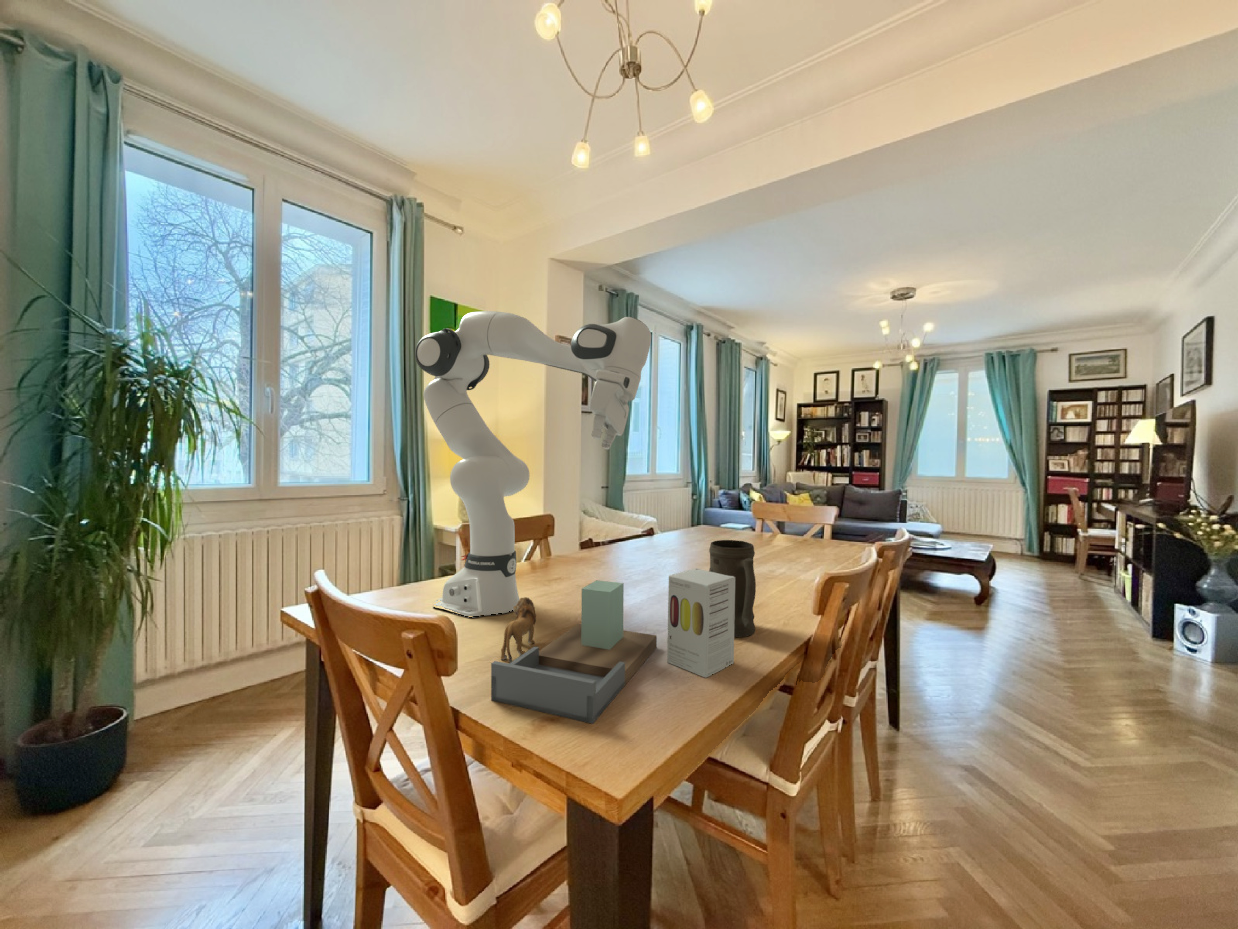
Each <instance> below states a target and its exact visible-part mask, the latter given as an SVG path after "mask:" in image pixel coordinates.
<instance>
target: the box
mask: <svg viewBox="0 0 1238 929" xmlns="http://www.w3.org/2000/svg"><path fill="white" fill-rule="evenodd" d="M539 651H540V647H539V646H533V647H531V648H530V649H528V650H527V651H525V653H524V654H523V655H519V657H517V658H515V659H514V660H512V661H511V662H509V663H506V662H501V661H497V660H495V661H493V662H491V664H490V669H491V671H490V681H491V685H490V688H491V689H490V690H491V691H490V692H491V693H490V694H491V696H490V700H491V701H493V702H497V703H501V704H506V705H509V706H510V705H511V706H514V707H518V708H523V709H527V710H532V711H536V712H541V713H545V714H548V715H553V716H558V717H563V718H566V719H570V720H575V721H580V722H584V723H588V724H594V723H595V722H596V721H597V719H599V717H600V716H601V715H602V714H603V713H604V711H605V710H606V709H607V708H608V706H609V705H610V704H611V703H612V702H613V700H614V699H615V698H616V697H617V696H618V695H619V693H620V692H621V691H622V689H624V687H625V686H626V685H625V662H619V663H618V664H617V665H616V666H615V667H614V668H613V669H612V670H611V671H610V672H609V673H608V674H607V675H606V676H605V677H602V676H597V675H591V674H586V673H581V672H576V671H570V670H565V669H560V668H555V667H549V666H544V665H539Z"/></svg>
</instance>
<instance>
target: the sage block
mask: <svg viewBox="0 0 1238 929" xmlns="http://www.w3.org/2000/svg"><path fill="white" fill-rule="evenodd" d="M624 590H625V589H624V582H617V581H609V580H598V579H597V580H594V581H592V582H591V583H589V584H587V585H586V586H584V587H582V588H581V616H580V617H581V618H580V619H581V622H580V624H581V645H585V646H591V647H597V648H603V649H609V650H610V649H611V648H612V647H613V646H614V645H615V644H616V643H617V642H618V641H620V640H621V639H622V638H623V630H624Z"/></svg>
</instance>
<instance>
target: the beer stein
mask: <svg viewBox="0 0 1238 929" xmlns="http://www.w3.org/2000/svg"><path fill="white" fill-rule="evenodd" d="M709 545H710V547H709V551H708V553H709V570H708V571H709V572H714V573H719V574H723V575H727V576H733V577H735V620H734V638H745V637H749V636H751V635H753V634H754V633H755V631H756V626H755V622H754V619H755V614H754V603H755V599H756V587H757V585H756V582H757V581H756V575H755V569H754V557H755V554H756V553H755V547H754V544H753V543H751V542H748V541H744V540H736V539H735V540H734V539H733V540H732V539H720V540H714V541H712V542H710V544H709Z"/></svg>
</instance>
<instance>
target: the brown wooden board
mask: <svg viewBox="0 0 1238 929" xmlns="http://www.w3.org/2000/svg"><path fill="white" fill-rule="evenodd" d="M657 639H658V638H657V635H656V634H651V633H643V632H636V631H631V630H624V629H623V638H622V639H621V640H620V641H618V642H617V643H616V644H615V645H614V646H613V647H612V648H611V649H610V650H609V649H603V648H597V647H591V646H585V645H581V623H577V624H576V625H574V626H572V627H571V628H570V629H568V630H567V631H566V632H564V633H563V634H561V635H559V637H557V638H555V639H554V640H552V641H551V642H550V643H549V644H547V645H545V646H543V648H541V649H539V665H544V666H549V667H555V668H560V669H565V670H570V671H576V672H581V673H586V674H591V675H597V676H602V677H605V676H606V675H607V674H608V673H609V672H610V671H611V670H612V669H613V668H614V667H615V666H616V665H617V664H618V663H619V662H625V686H626V685H627V684H628V682H629V681H630V680H631V678H633V676H634V675H635V674H636V673H637V671H638V670H640V668H641V667H642V665H643V664H644V663H646V661H647V659H648V658H649V657H650V656H651V655H652V654H653V653H654V651H655V650H656V649H657V647H658V646H657V642H658V640H657Z"/></svg>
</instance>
